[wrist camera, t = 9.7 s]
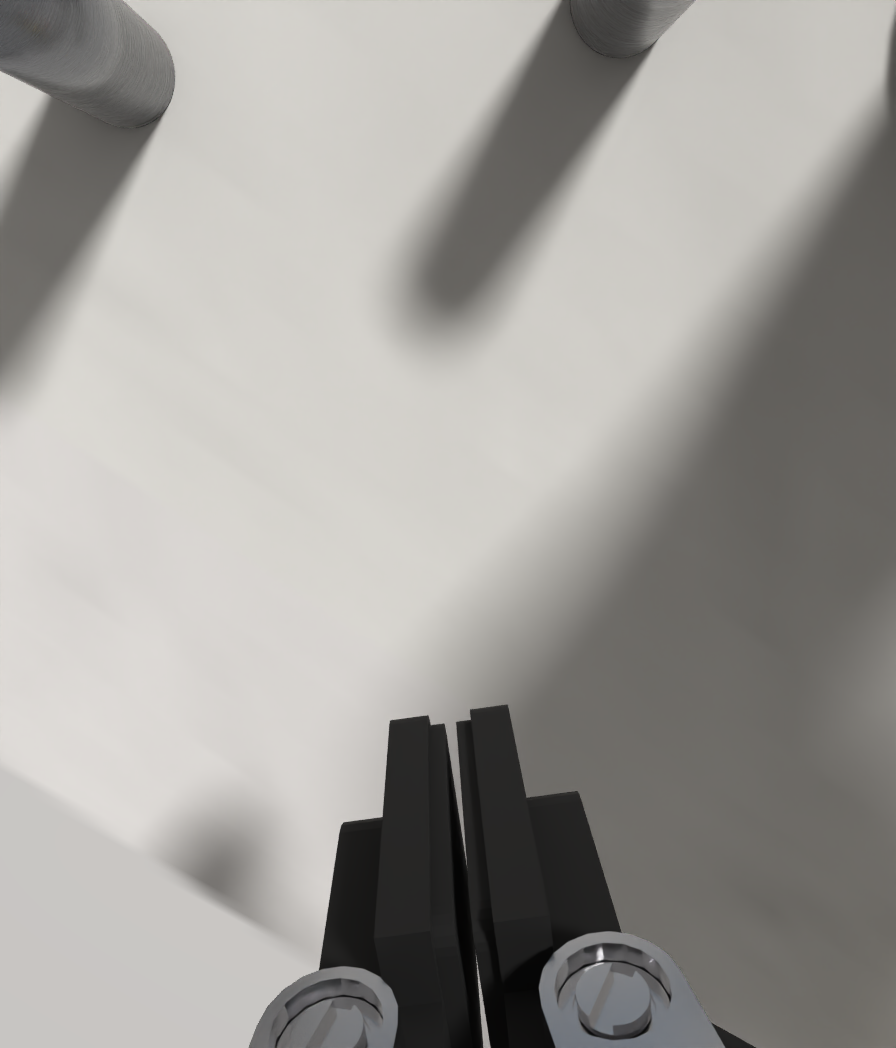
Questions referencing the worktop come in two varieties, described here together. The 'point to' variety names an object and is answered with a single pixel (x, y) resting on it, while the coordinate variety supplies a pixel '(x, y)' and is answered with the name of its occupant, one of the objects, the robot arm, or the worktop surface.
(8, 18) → the edge side post
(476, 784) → the robot arm
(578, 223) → the worktop surface
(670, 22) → the base side post
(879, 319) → the worktop surface
